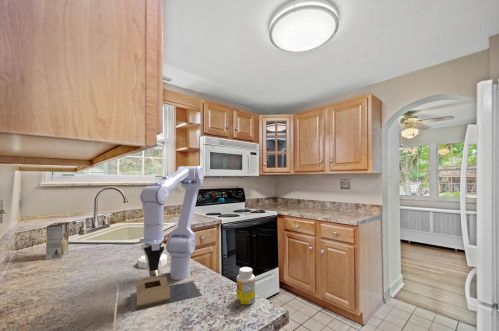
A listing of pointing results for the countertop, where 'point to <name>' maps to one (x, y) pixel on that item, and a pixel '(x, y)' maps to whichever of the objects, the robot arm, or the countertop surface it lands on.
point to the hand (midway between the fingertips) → (152, 268)
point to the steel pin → (151, 273)
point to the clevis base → (174, 295)
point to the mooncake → (143, 263)
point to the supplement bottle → (245, 286)
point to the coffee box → (57, 240)
